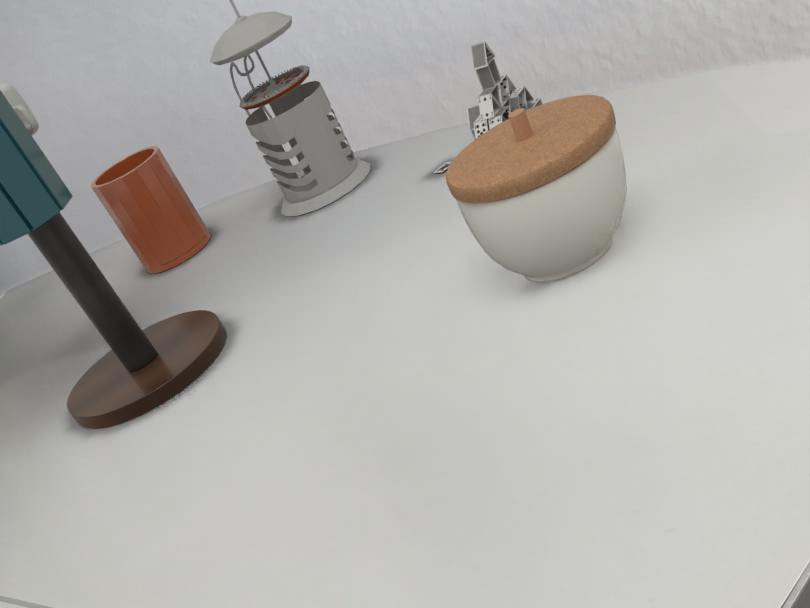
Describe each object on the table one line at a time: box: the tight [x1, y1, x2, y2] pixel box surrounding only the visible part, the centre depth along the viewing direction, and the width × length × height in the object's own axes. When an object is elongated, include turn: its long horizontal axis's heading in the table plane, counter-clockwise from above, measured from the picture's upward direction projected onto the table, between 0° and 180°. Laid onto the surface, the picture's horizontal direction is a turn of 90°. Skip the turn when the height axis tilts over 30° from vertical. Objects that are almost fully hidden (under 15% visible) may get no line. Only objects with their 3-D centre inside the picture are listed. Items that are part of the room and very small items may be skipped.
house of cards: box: [433, 40, 543, 174], centre depth 83 cm, size 9×9×8 cm
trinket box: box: [445, 94, 628, 284], centre depth 62 cm, size 11×11×9 cm
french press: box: [209, 0, 371, 217], centre depth 88 cm, size 10×12×25 cm
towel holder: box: [27, 212, 228, 430], centre depth 75 cm, size 14×14×15 cm
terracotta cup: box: [90, 145, 212, 274], centre depth 97 cm, size 7×7×9 cm
